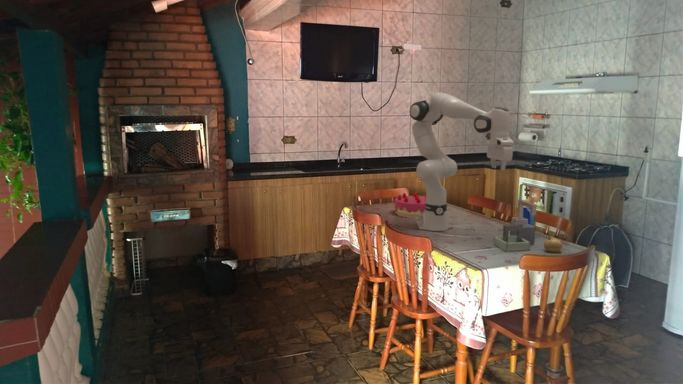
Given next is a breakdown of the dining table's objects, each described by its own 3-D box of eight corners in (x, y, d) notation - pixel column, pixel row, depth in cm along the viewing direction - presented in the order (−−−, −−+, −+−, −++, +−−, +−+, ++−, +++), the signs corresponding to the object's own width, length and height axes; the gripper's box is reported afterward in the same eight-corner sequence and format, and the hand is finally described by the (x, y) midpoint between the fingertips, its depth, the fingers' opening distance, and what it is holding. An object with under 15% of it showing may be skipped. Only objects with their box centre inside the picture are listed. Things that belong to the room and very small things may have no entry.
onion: (557, 249, 244) (558, 234, 243) (565, 253, 237) (566, 239, 235) (540, 249, 244) (541, 234, 243) (548, 254, 236) (549, 239, 235)
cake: (393, 209, 338) (393, 191, 336) (435, 209, 337) (436, 191, 334) (395, 219, 310) (396, 198, 308) (441, 219, 309) (442, 199, 307)
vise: (507, 238, 264) (508, 216, 262) (521, 237, 265) (522, 216, 263) (520, 245, 250) (521, 222, 248) (535, 244, 252) (536, 222, 250)
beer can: (513, 235, 270) (515, 205, 268) (525, 233, 274) (527, 204, 271) (525, 238, 263) (527, 208, 260) (537, 236, 266) (539, 206, 264)
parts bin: (493, 244, 252) (494, 236, 252) (516, 243, 254) (516, 235, 254) (506, 251, 240) (506, 243, 239) (529, 250, 242) (530, 242, 241)
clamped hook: (516, 224, 259) (518, 199, 257) (520, 224, 260) (521, 199, 257) (531, 231, 246) (532, 204, 243) (534, 231, 246) (536, 204, 244)
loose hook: (502, 246, 247) (503, 225, 246) (519, 245, 249) (520, 224, 247) (504, 247, 245) (505, 226, 244) (521, 246, 247) (522, 225, 245)
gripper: (484, 139, 259) (483, 166, 261) (503, 142, 239) (501, 171, 241) (495, 139, 260) (494, 166, 262) (515, 142, 240) (514, 171, 242)
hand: (498, 168), depth 251 cm, fingers open, 8 cm apart
